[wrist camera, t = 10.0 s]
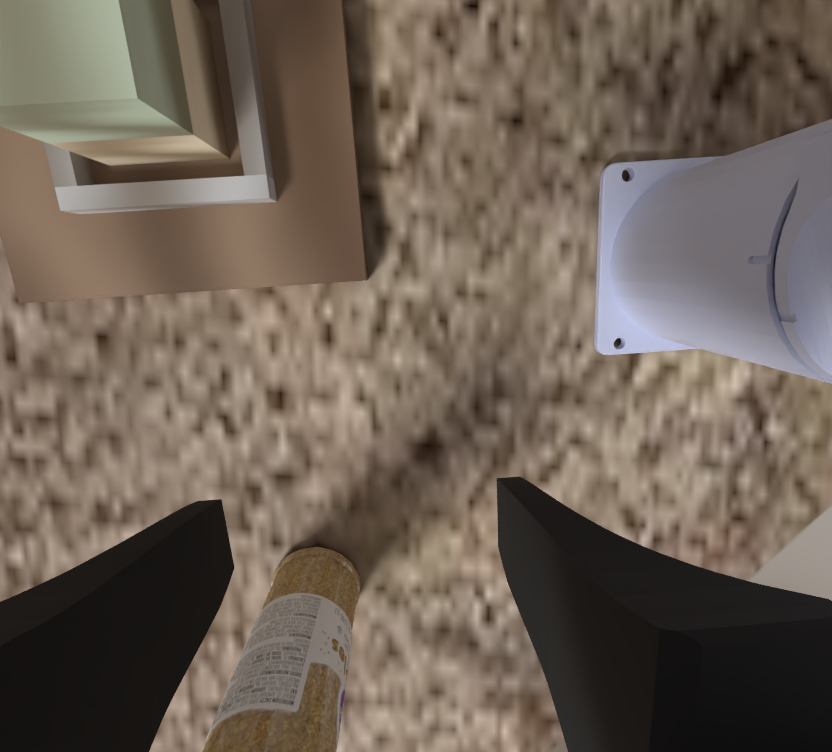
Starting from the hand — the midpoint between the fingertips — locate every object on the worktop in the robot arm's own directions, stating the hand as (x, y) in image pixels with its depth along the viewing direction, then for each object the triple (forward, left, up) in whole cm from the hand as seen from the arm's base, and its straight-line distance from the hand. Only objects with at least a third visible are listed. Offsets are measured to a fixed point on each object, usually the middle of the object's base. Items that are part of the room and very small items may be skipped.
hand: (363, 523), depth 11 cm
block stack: (+7, -13, -8) cm, 17 cm away
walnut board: (+7, -13, -9) cm, 18 cm away
